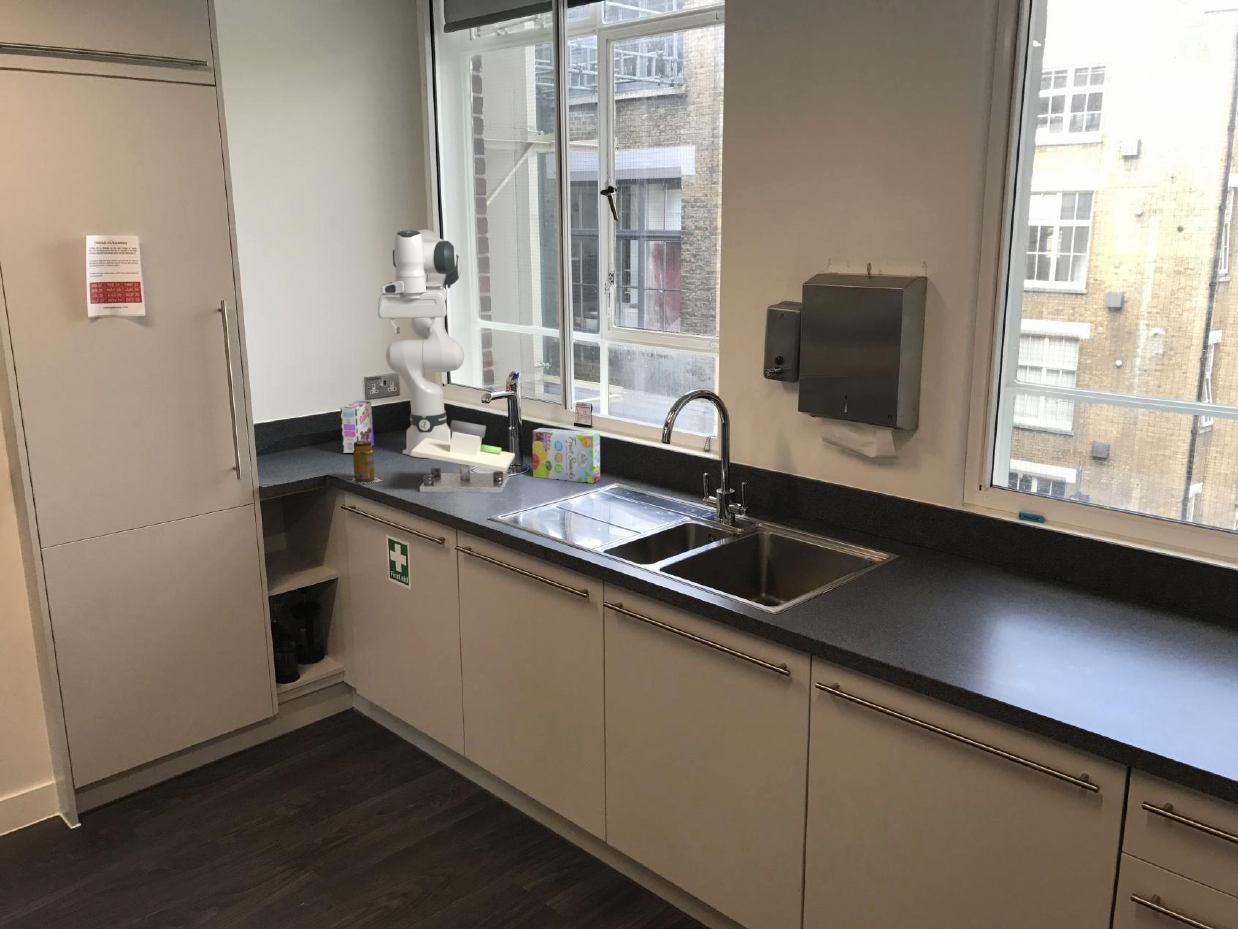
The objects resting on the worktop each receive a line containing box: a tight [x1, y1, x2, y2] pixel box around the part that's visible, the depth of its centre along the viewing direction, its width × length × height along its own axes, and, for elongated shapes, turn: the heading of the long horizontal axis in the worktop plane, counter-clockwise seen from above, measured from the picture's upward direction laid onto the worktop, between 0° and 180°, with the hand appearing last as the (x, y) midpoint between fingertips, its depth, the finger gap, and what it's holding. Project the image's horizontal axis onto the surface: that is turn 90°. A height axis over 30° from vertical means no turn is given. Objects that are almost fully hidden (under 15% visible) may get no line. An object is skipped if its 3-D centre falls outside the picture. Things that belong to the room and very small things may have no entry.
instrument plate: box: [411, 419, 516, 472], centre depth 301 cm, size 28×18×10 cm, turn 88°
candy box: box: [340, 400, 375, 453], centre depth 349 cm, size 14×6×16 cm, turn 171°
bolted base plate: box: [419, 464, 510, 493], centre depth 304 cm, size 24×16×8 cm, turn 88°
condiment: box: [350, 441, 383, 485], centre depth 309 cm, size 7×8×12 cm
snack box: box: [531, 427, 601, 484], centre depth 310 cm, size 21×6×15 cm, turn 65°
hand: (413, 333), depth 303 cm, fingers open, 8 cm apart
